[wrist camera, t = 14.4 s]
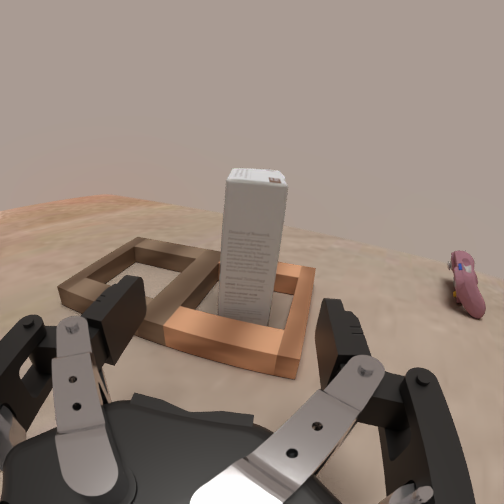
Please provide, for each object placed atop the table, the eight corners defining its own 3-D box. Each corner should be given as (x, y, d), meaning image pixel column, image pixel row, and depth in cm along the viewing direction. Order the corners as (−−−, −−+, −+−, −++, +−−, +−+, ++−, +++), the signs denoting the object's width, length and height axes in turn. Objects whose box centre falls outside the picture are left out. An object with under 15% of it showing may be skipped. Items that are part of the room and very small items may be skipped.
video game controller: (450, 290, 34) (444, 245, 33) (477, 286, 31) (473, 239, 30) (452, 325, 26) (448, 269, 25) (486, 320, 23) (484, 263, 22)
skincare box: (223, 291, 28) (228, 166, 23) (268, 294, 28) (281, 169, 23) (216, 330, 22) (219, 176, 18) (271, 333, 23) (290, 181, 18)
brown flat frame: (62, 304, 23) (57, 286, 22) (138, 251, 35) (137, 236, 34) (294, 379, 18) (300, 359, 17) (312, 284, 31) (315, 268, 30)
